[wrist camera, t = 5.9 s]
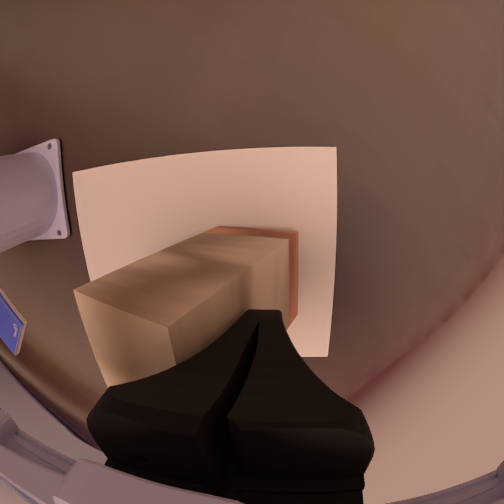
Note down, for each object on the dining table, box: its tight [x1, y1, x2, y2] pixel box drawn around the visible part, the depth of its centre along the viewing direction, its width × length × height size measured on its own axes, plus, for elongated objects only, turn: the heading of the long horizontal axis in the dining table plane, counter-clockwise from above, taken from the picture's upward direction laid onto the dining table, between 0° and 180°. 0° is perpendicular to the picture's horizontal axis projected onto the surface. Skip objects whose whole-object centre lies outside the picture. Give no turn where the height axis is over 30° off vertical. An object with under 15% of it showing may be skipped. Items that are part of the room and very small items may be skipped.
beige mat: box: [72, 147, 337, 357], centre depth 19 cm, size 18×14×1 cm
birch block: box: [73, 226, 298, 388], centre depth 13 cm, size 5×5×10 cm
